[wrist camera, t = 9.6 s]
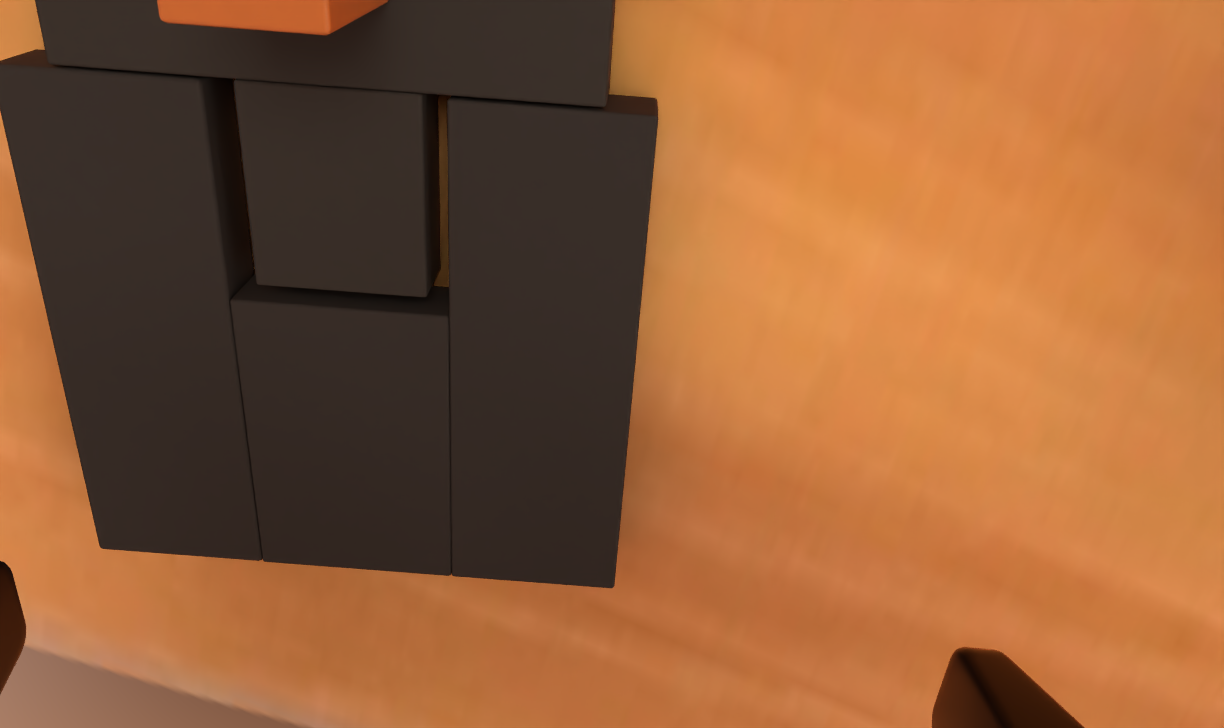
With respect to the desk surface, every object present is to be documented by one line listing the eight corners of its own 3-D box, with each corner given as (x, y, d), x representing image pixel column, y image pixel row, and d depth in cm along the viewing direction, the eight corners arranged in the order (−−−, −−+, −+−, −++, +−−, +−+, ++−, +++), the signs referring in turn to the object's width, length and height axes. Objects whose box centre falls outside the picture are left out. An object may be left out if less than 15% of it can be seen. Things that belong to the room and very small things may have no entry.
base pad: (657, 97, 18) (658, 115, 17) (616, 548, 24) (613, 589, 22) (34, 48, 18) (-13, 63, 17) (129, 511, 23) (98, 550, 22)
